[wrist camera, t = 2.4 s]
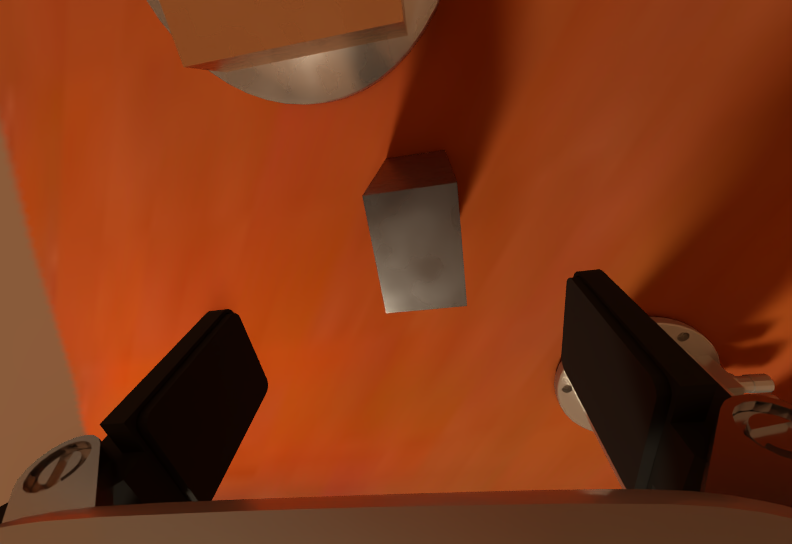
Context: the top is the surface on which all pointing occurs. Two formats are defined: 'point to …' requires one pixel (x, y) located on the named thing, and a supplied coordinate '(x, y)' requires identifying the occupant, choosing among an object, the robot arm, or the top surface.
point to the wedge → (417, 233)
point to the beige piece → (296, 42)
